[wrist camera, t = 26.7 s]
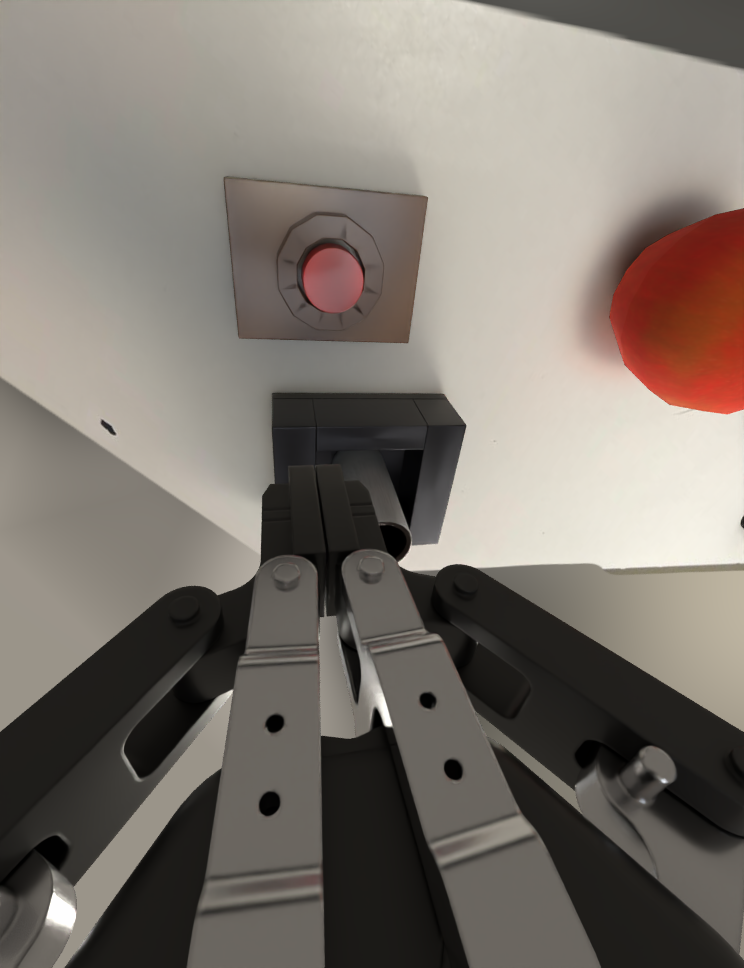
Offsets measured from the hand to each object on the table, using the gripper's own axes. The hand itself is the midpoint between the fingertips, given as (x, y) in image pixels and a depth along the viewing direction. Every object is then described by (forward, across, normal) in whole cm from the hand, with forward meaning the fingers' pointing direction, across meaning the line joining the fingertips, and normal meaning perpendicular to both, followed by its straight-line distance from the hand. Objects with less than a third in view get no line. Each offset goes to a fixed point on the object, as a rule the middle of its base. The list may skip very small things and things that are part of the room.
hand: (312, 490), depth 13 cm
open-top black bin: (+22, -6, +13) cm, 26 cm away
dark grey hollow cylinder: (+21, -6, +13) cm, 25 cm away
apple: (+22, -28, -2) cm, 35 cm away
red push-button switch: (+22, -3, -2) cm, 22 cm away
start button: (+19, -3, -2) cm, 19 cm away
